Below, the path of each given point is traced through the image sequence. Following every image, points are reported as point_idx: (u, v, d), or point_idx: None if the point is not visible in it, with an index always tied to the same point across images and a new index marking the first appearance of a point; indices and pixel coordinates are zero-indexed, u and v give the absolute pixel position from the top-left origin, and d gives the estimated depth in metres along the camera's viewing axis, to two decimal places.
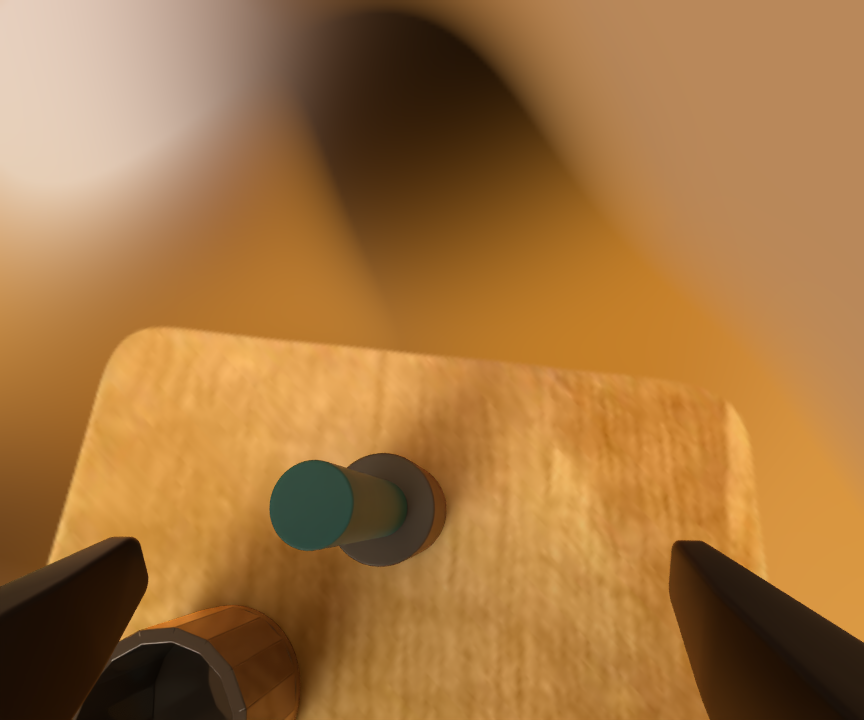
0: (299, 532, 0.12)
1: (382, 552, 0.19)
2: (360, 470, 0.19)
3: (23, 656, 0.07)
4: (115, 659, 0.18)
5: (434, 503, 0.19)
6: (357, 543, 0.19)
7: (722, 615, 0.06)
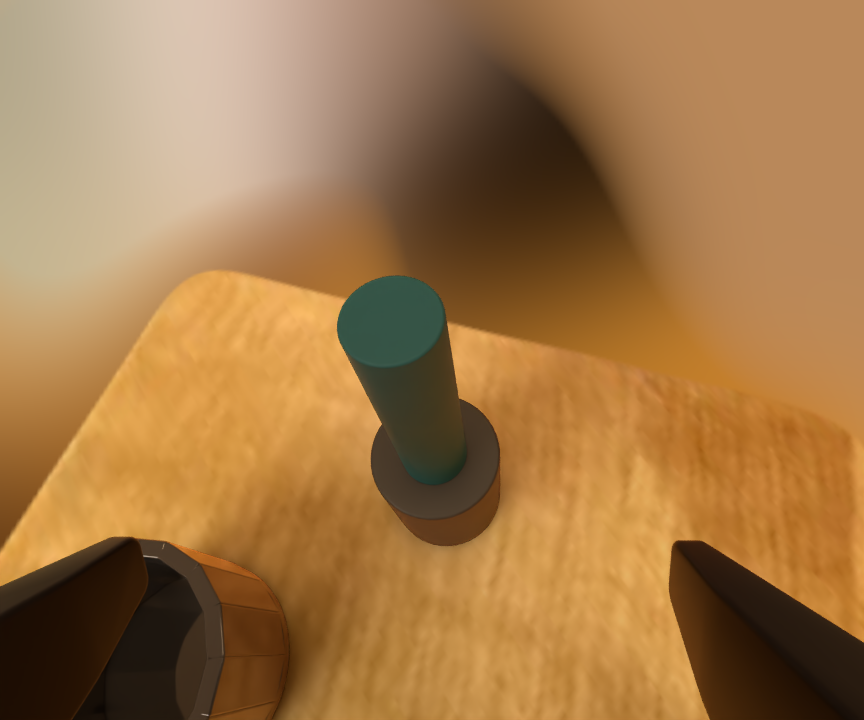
0: (370, 345, 0.09)
1: (427, 502, 0.15)
2: None
3: (23, 656, 0.07)
4: None
5: (499, 458, 0.16)
6: (399, 487, 0.16)
7: (722, 615, 0.06)
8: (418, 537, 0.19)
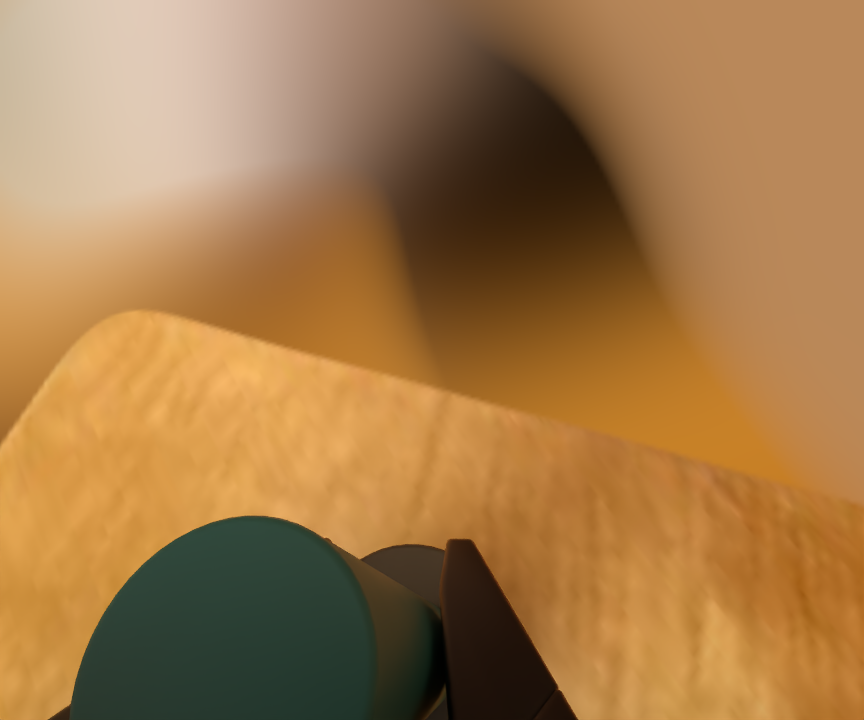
0: None
1: None
2: (383, 570, 0.11)
3: None
4: None
5: None
6: None
7: None
8: None
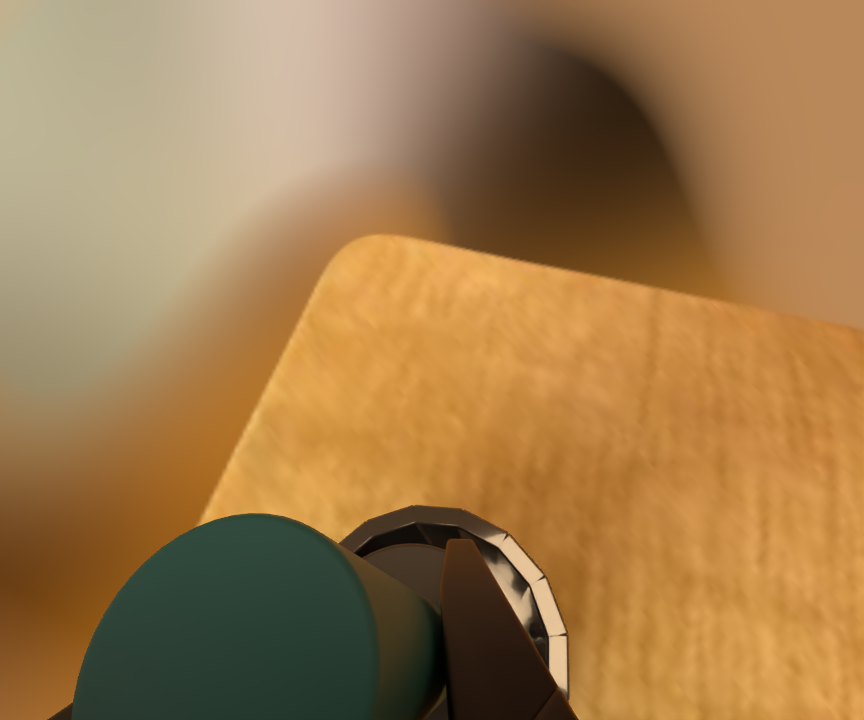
0: None
1: None
2: (383, 569, 0.11)
3: None
4: (376, 536, 0.14)
5: None
6: None
7: (441, 609, 0.07)
8: None
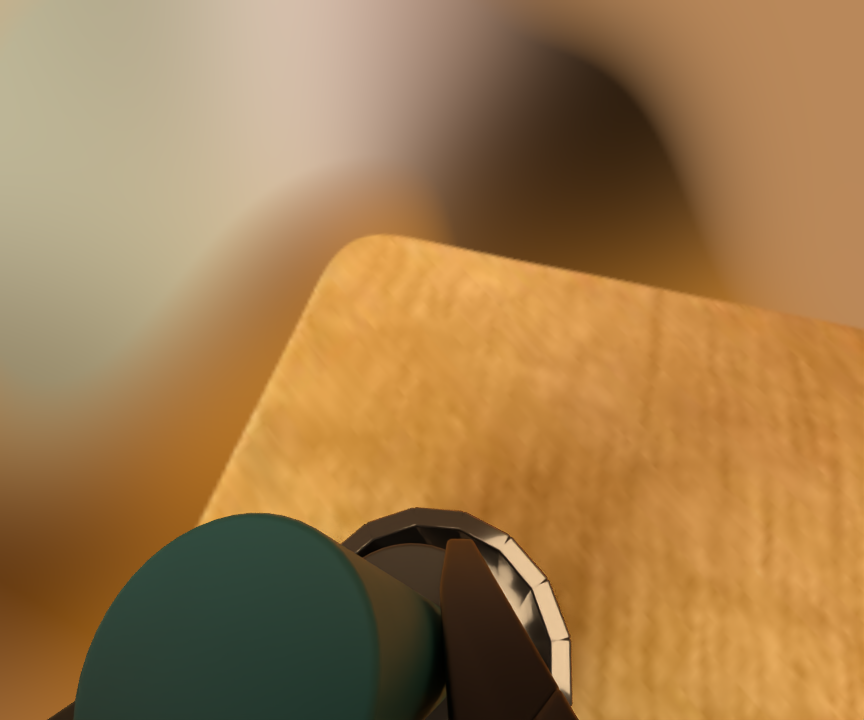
0: None
1: None
2: (384, 569, 0.11)
3: None
4: (376, 539, 0.13)
5: None
6: None
7: (441, 609, 0.07)
8: None
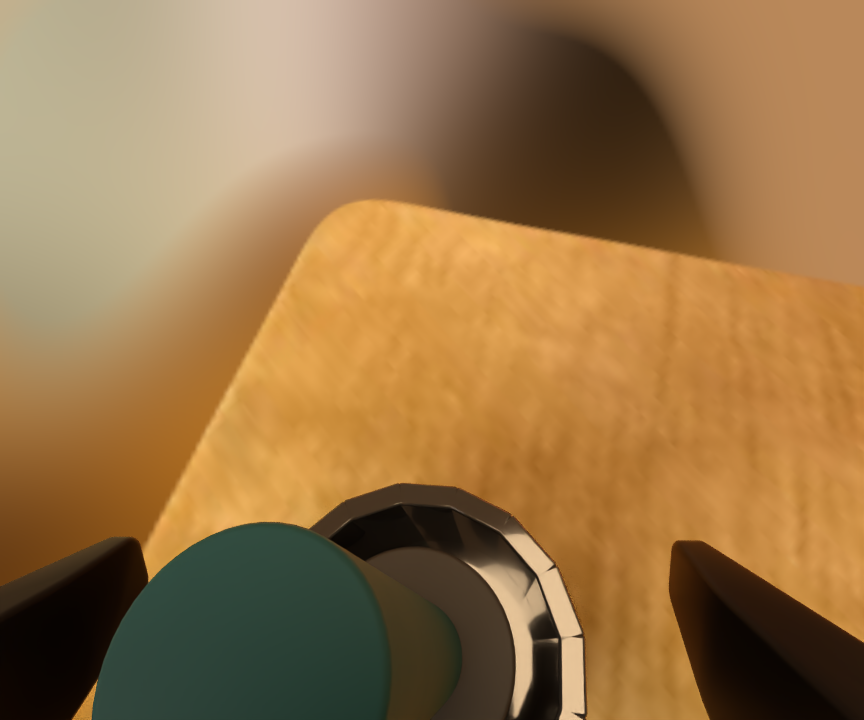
0: None
1: None
2: (386, 572, 0.11)
3: (23, 656, 0.07)
4: (355, 520, 0.11)
5: (514, 670, 0.10)
6: None
7: (722, 615, 0.06)
8: None
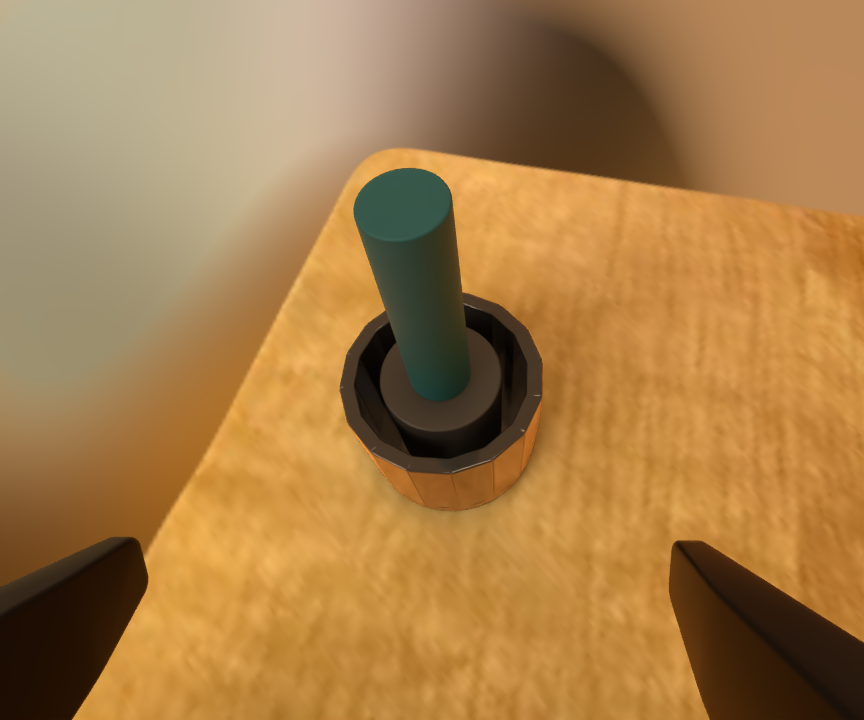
0: (384, 223, 0.10)
1: (433, 417, 0.16)
2: None
3: (23, 656, 0.07)
4: None
5: (501, 378, 0.17)
6: (407, 404, 0.16)
7: (722, 615, 0.06)
8: None
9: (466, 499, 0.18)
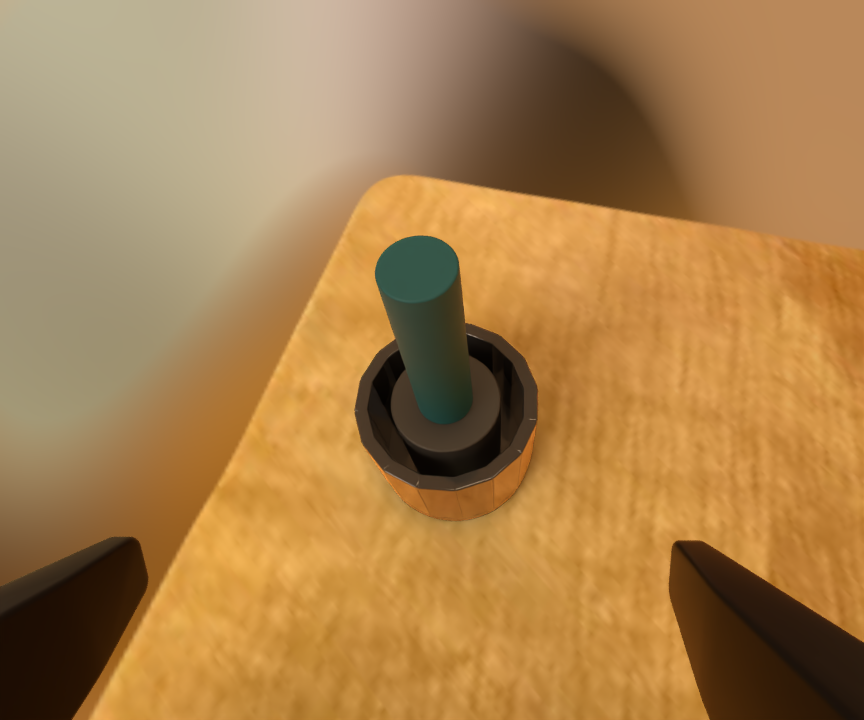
0: (401, 286, 0.12)
1: (439, 438, 0.18)
2: None
3: (23, 656, 0.07)
4: None
5: (500, 403, 0.18)
6: (416, 426, 0.18)
7: (722, 615, 0.06)
8: None
9: (468, 511, 0.20)
